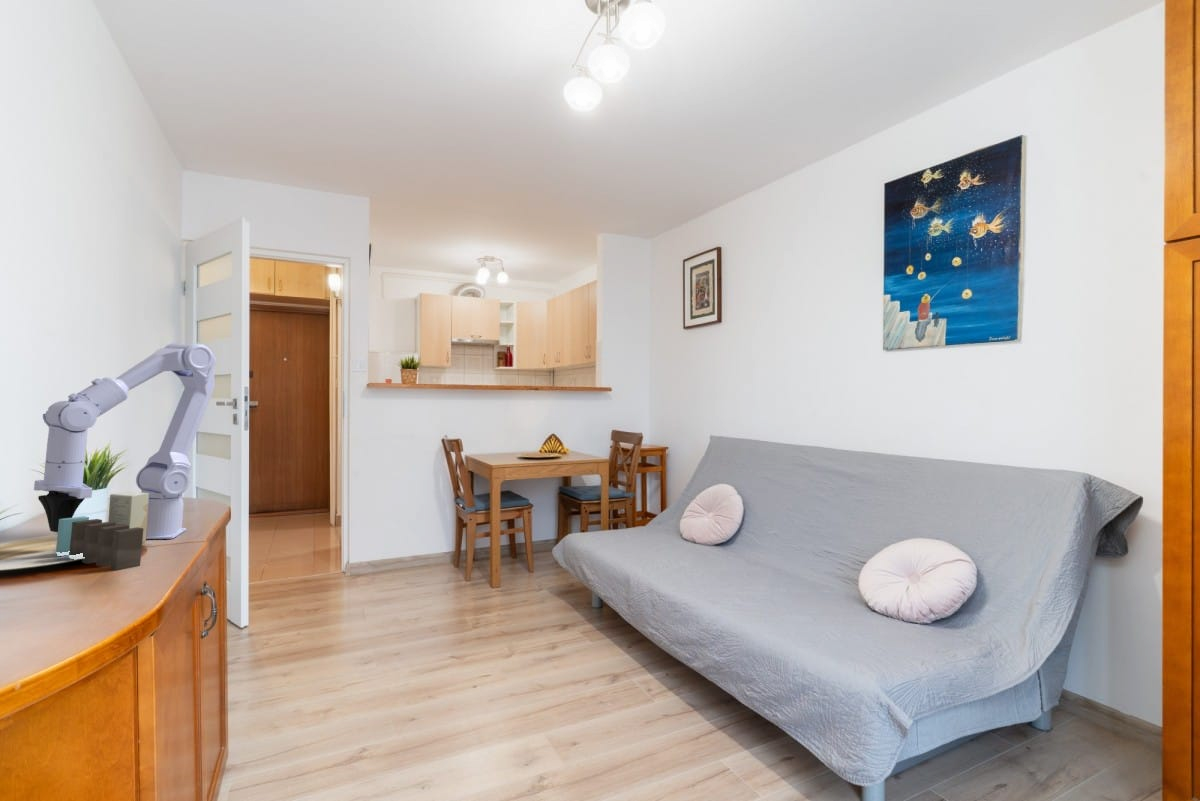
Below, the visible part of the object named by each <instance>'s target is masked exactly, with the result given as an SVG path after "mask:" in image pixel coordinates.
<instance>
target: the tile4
mask: <svg viewBox="0 0 1200 801" xmlns="http://www.w3.org/2000/svg"><path fill="white" fill-rule="evenodd" d="M123 529H129V525H124V524H123V525H116V526H109V527H102V528H100V530H99V540H98V550H97V561H96V562H95V566H96V567H99V568H104V567H110V566H111V556H112V545H113V535H114V531H116V530H123Z"/></svg>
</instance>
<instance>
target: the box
mask: <svg viewBox="0 0 1200 801" xmlns="http://www.w3.org/2000/svg"><path fill="white" fill-rule="evenodd" d="M148 499H149V493H141V492H138V491H137V492H136V491H123V492H116V493H111V494H110V495H109V506H108V507H109V508H108V509H109V510H108V520H107V522H115V523H116V524H115V526H116V525H123V524H124V525H129V529H130V528H136V527H139V528H144V529H143V540H142V547H143V546H146V544H147V543H146V542H147V541H146V540H147V539H146V529H147V514H148Z"/></svg>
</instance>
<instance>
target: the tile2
mask: <svg viewBox="0 0 1200 801" xmlns="http://www.w3.org/2000/svg"><path fill="white" fill-rule="evenodd" d="M96 523H103V520H102V519H99V518H94V519H89V520H84V521H76V522H72V531H71V541H70V552H69V555H76V554H80V553H83V549H84V539H85V529H86V525H89V524H96Z"/></svg>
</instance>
